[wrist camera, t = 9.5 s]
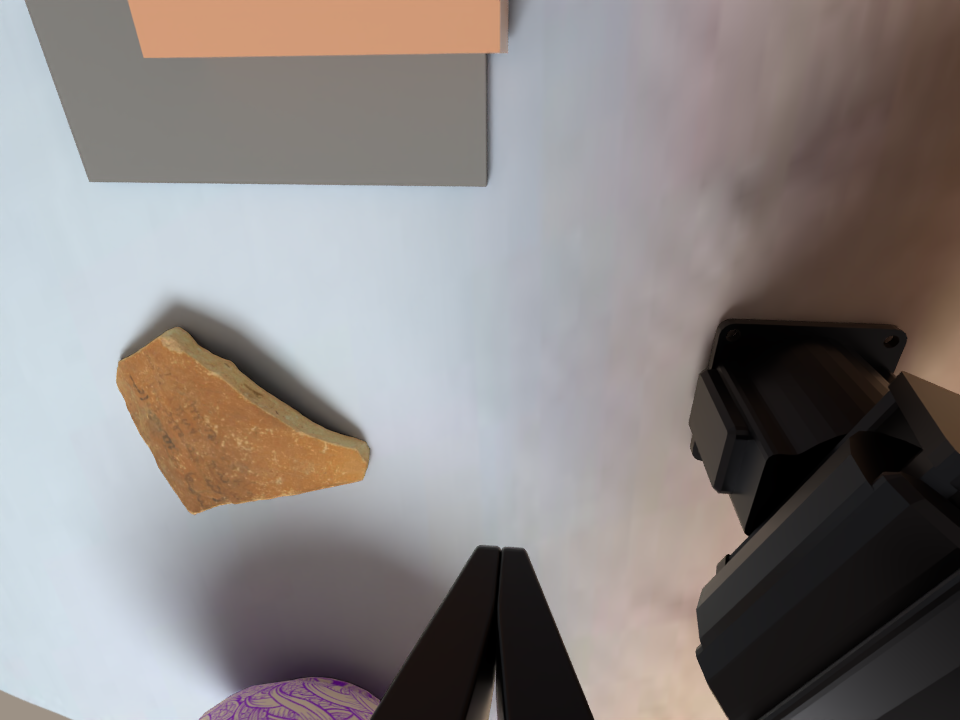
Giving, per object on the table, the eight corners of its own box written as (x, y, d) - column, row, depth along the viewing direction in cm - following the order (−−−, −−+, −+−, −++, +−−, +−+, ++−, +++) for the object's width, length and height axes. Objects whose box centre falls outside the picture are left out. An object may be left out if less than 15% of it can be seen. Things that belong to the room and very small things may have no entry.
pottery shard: (385, 457, 26) (370, 494, 24) (252, 516, 30) (229, 553, 27) (238, 282, 23) (205, 306, 20) (103, 371, 26) (62, 401, 23)
